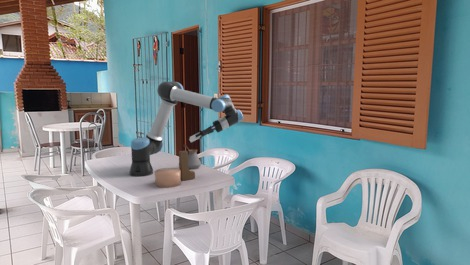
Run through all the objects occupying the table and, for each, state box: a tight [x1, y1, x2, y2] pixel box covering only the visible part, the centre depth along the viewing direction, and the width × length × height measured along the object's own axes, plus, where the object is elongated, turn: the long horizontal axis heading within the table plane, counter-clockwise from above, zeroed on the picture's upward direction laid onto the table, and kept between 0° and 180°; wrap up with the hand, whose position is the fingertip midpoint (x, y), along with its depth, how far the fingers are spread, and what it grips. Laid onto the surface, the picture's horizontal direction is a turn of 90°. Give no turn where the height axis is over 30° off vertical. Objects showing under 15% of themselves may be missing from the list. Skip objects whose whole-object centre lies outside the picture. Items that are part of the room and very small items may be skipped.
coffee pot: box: [183, 144, 202, 170], centre depth 246 cm, size 21×12×15 cm, turn 30°
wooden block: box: [178, 150, 196, 182], centre depth 213 cm, size 9×4×18 cm, turn 120°
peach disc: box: [154, 167, 182, 188], centre depth 203 cm, size 15×15×8 cm
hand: (190, 139), depth 211 cm, fingers open, 13 cm apart
